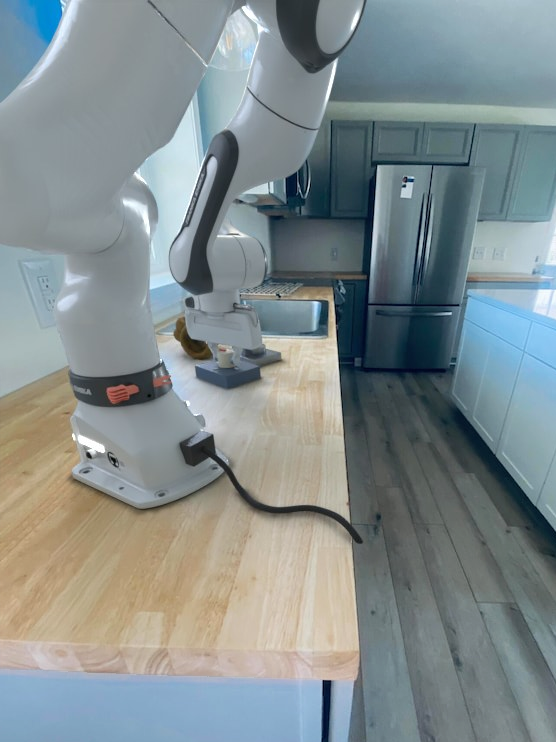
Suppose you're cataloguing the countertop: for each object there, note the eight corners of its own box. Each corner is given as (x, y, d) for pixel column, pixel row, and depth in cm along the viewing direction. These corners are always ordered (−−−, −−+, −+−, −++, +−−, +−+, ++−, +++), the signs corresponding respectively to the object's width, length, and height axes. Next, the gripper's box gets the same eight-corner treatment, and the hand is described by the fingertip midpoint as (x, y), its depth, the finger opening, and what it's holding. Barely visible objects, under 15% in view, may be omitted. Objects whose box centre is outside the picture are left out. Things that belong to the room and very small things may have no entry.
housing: (281, 360, 102) (281, 346, 100) (254, 368, 95) (253, 353, 93) (253, 352, 109) (252, 338, 107) (225, 359, 102) (224, 345, 100)
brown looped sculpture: (246, 318, 117) (219, 319, 96) (236, 356, 121) (208, 365, 101) (193, 297, 117) (154, 293, 96) (184, 336, 121) (145, 340, 101)
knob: (239, 365, 88) (237, 349, 86) (227, 369, 85) (225, 353, 83) (227, 362, 90) (225, 346, 88) (215, 366, 86) (213, 350, 85)
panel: (260, 378, 89) (260, 365, 87) (227, 389, 82) (225, 375, 80) (229, 368, 95) (228, 356, 94) (196, 377, 88) (194, 364, 87)
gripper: (266, 303, 78) (269, 366, 85) (198, 295, 87) (206, 353, 94) (246, 307, 73) (252, 373, 80) (176, 298, 82) (186, 358, 89)
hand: (226, 362), depth 87 cm, fingers closed on knob, 4 cm apart
